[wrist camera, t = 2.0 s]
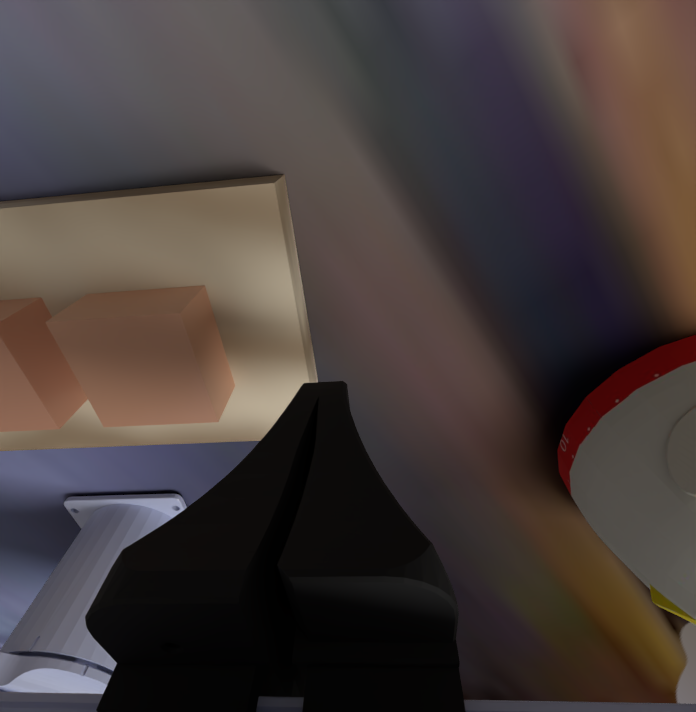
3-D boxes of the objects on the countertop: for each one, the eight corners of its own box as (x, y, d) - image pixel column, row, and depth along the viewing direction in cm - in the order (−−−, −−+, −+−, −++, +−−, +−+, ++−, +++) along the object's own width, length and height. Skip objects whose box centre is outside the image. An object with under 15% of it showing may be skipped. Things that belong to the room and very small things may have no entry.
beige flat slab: (322, 412, 22) (319, 438, 20) (-14, 427, 23) (-43, 452, 22) (284, 174, 15) (274, 183, 14) (-174, 218, 17) (-234, 230, 15)
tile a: (235, 386, 18) (218, 422, 16) (133, 391, 19) (103, 427, 17) (204, 285, 16) (180, 312, 14) (86, 293, 16) (44, 322, 14)
